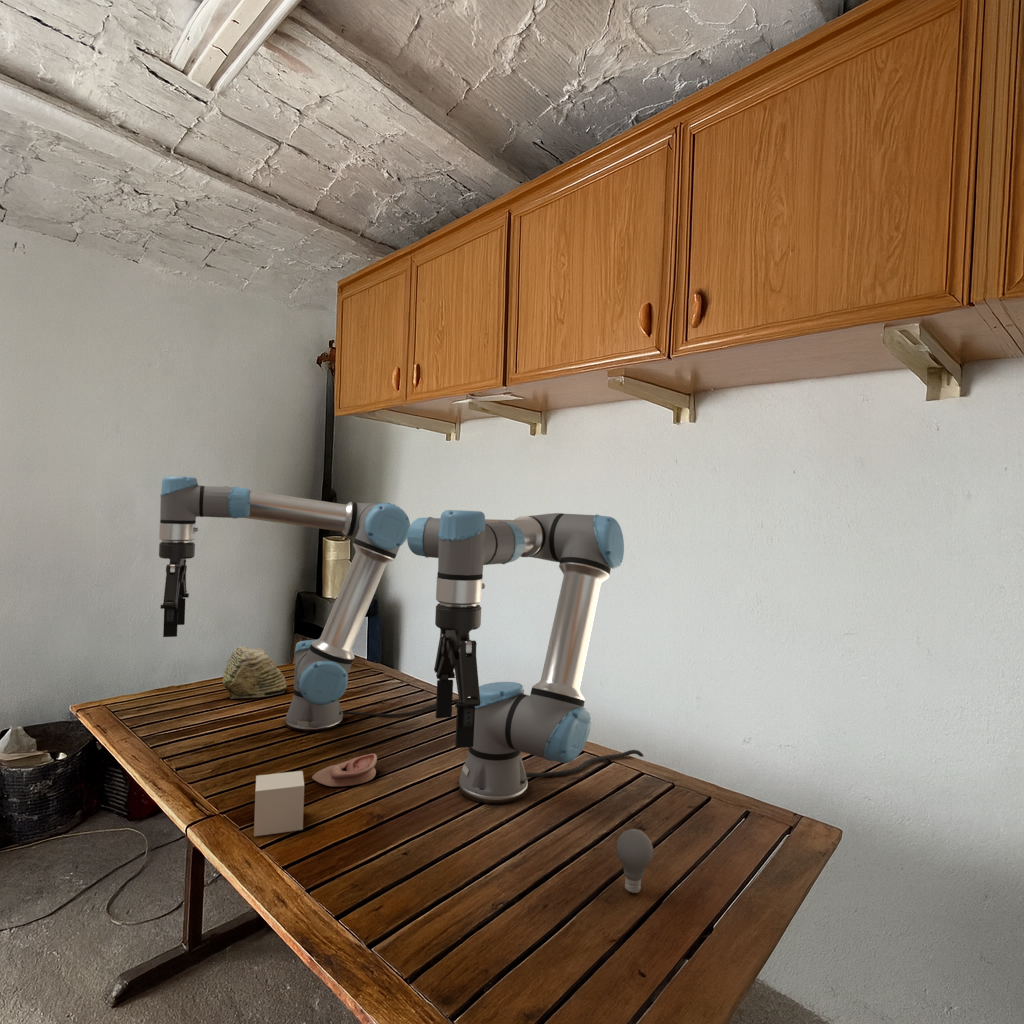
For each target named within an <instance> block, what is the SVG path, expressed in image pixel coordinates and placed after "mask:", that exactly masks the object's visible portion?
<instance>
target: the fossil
mask: <svg viewBox="0 0 1024 1024" xmlns="http://www.w3.org/2000/svg"><path fill="white" fill-rule="evenodd" d="M222 676H223V677H222V685H223V687H224V688H225V690H226V691H228V693H229V698H230V699H250V698H264V697H271V696H275V695H281V694H284V693H285V691H286V689H287V687H288V686H287V680H286V678H285V676H284V674H283V673H282V672H281V669H279V668H278V667H277V665H276V663H275V662H274V660H273V659H272V658H271V657H270V656H269V655H268V654H267V653H266V652H265V650H264V649H263V648H260V647H258V648H251V647H247V646H246V647H245V646H238V647H237V648H236V649H235V650H233V651H232V653H231V656H230V657H229V659H228V660H227V663H226V666H225V668H224V671H223V675H222Z"/></svg>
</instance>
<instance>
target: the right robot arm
mask: <svg viewBox="0 0 1024 1024" xmlns="http://www.w3.org/2000/svg"><path fill="white" fill-rule="evenodd" d="M407 534H408V536H407V540H406V543H407V546H408V548H409V550H410V551H411V553H412V554H414V555H415V556H419V557H424V558H427V559H428V558H433V559H438V560H437V561H438V562H437V567H438V568H437V576H436V586H435V587H436V588H435V589H436V590H435V600H436V601H437V602H438V603H437V604H436V606H435V616H434V617H435V618H434V619H435V620H434V624H435V626H436V627H437V628H438V629H439V630H440V631H439V632H440V633H439V640H438V646H437V651H436V657H435V663H434V668H433V671H434V673H435V674H436V676H435V677H436V696H435V697H436V700H435V704H436V706H435V719H446V718H447V719H449V718H450V719H451V718H452V717H453V702H452V700H453V695H454V694H453V693H454V680H453V679H455V682H456V683H455V684H456V690H457V697H458V699H459V701H457V702H455V704H454V708H456V717H455V719H456V721H455V741H454V742H455V743H454V747H455V749H462V748H463V749H464V748H468V752H467V753H468V754H467V756H466V759H465V762H464V763H463V765H462V769H461V772H460V775H459V778H458V790H459V792H460V794H462V795H463V796H464V797H465V798H467V799H469V800H471V801H474V802H476V803H481V804H490V805H502V804H509V803H513V802H516V801H518V800H520V799H522V798H524V797H525V796H526V794H527V793H528V785H529V784H528V778H549V777H561V776H566V775H567V776H568V775H572V774H574V773H577V772H580V771H582V770H583V769H584V768H585V767H587V766H589V765H591V764H593V763H594V764H595V763H597V762H601V761H607V760H613V759H622V758H625V757H628V756H630V755H637V756H638V757H642V758H643V757H644V756H645V755H644V754H643V752H641V751H640V750H638V749H629V750H626V751H624V752H621V753H615V754H607V755H601V756H597V757H593V758H590V759H588V760H586V761H584V762H582V763H581V764H580V765H578V766H575V767H572V768H569V769H565V770H557V771H547V772H526V769H525V765H524V762H523V759H522V758H523V757H522V753H524V754H528V755H532V756H536V757H539V758H542V759H545V760H546V761H549V762H557V763H560V764H561V763H562V764H567V763H571V762H572V761H574V760H576V759H577V757H579V755H580V754H581V753H582V751H583V749H584V748H585V745H586V743H587V741H588V737H589V735H590V731H591V725H592V722H591V719H592V718H591V713H590V711H589V709H587V708H586V707H584V706H585V702H586V699H585V697H584V696H583V694H582V692H581V686H582V680H583V676H584V670H585V664H586V660H587V654H588V650H589V646H590V640H591V636H592V631H593V625H594V620H595V616H596V610H597V606H598V601H599V597H600V596H599V595H600V591H601V586H602V583H603V582H605V581H606V580H608V579H609V578H610V575H611V570H612V569H613V570H615V569H617V568H620V566H621V564H622V563H623V560H624V555H625V540H624V535H623V530H622V527H621V526H620V523H619V521H618V520H617V519H615V518H614V517H613V516H608V515H600V514H579V513H561V512H560V513H559V512H554V513H543V514H535V515H520V516H518V517H516V518H514V519H486V514H485V513H484V512H483V511H479V510H463V509H460V510H459V509H446V510H444V511H442V512H441V514H440V517H433V516H427V517H418V518H416V519H414V520H413V521H412V522H410V527H409V529H408V533H407ZM520 557H521V558H533V559H539V560H544V561H549V562H553V563H554V562H555V563H559V565H558V568H559V569H560V571H561V573H562V574H563V577H562V581H561V585H560V590H559V595H558V598H557V599H558V600H557V604H556V609H555V614H554V618H553V622H552V627H551V631H550V636H549V641H548V645H547V649H546V655H545V659H544V663H543V668H542V671H541V672H542V673H541V677H540V680H539V681H538V682H537V683H535V684H534V685H532V686H531V691H530V695H529V694H525V688H524V685H522V684H521V683H519V682H516V681H515V682H514V681H498V682H497V681H496V682H489V683H484V684H482V685H480V683H479V674H478V673H479V671H478V662H477V661H478V660H477V644H478V643H477V641H476V640H471V638H470V632H471V631H475V630H478V629H479V628H480V627H481V625H482V606H481V605H480V603H481V602H482V594H483V590H484V589H485V588H486V585H485V583H483V577H484V576H483V575H484V574H483V572H484V566H489V565H506V564H508V563H513V562H514V561H515V562H516V561H517V560H518V559H520Z"/></svg>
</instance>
